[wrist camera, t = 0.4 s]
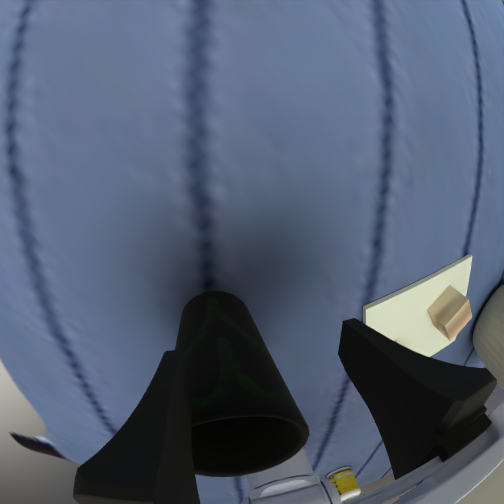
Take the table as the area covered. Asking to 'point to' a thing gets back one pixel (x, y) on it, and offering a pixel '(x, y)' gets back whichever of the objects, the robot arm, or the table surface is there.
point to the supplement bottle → (344, 483)
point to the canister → (492, 335)
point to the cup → (235, 391)
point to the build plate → (417, 309)
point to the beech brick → (450, 312)
